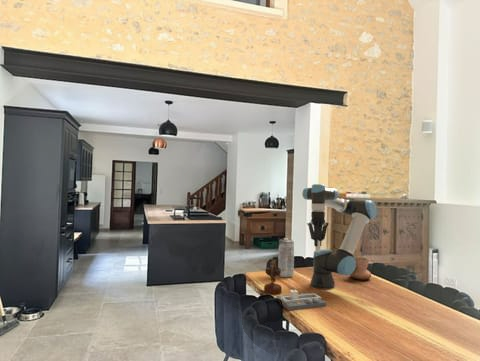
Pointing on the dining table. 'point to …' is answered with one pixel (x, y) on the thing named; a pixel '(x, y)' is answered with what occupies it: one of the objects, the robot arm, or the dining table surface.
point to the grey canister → (286, 257)
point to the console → (302, 301)
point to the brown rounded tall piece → (273, 279)
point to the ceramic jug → (361, 269)
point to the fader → (293, 294)
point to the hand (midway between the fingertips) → (317, 251)
